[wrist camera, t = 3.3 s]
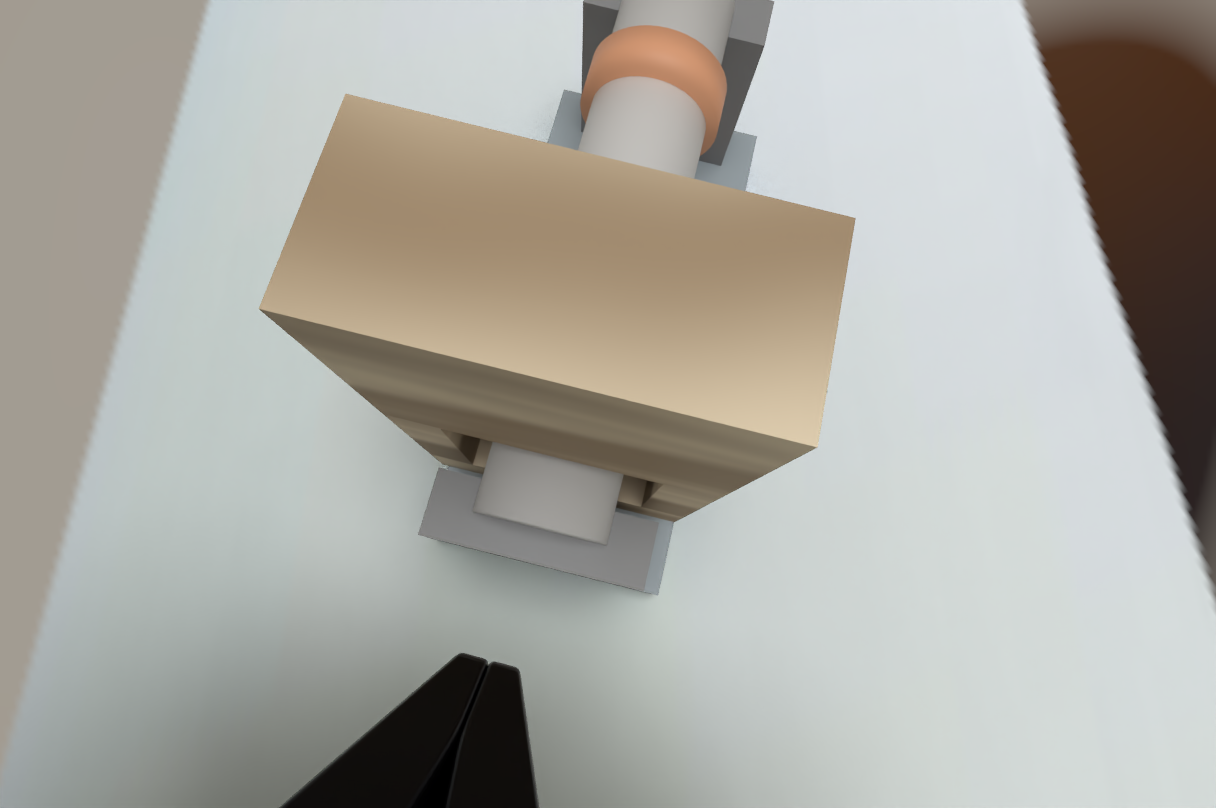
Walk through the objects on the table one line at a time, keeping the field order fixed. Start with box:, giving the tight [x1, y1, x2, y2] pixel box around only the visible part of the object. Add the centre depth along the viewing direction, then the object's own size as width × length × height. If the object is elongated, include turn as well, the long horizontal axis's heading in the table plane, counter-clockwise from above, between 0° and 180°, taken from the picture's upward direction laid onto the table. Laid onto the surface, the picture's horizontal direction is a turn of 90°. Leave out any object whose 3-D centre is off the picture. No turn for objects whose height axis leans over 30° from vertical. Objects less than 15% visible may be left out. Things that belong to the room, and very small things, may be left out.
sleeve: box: [259, 94, 855, 522], centre depth 14 cm, size 3×7×11 cm, turn 76°
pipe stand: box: [418, 0, 774, 595], centre depth 19 cm, size 16×7×9 cm, turn 166°
